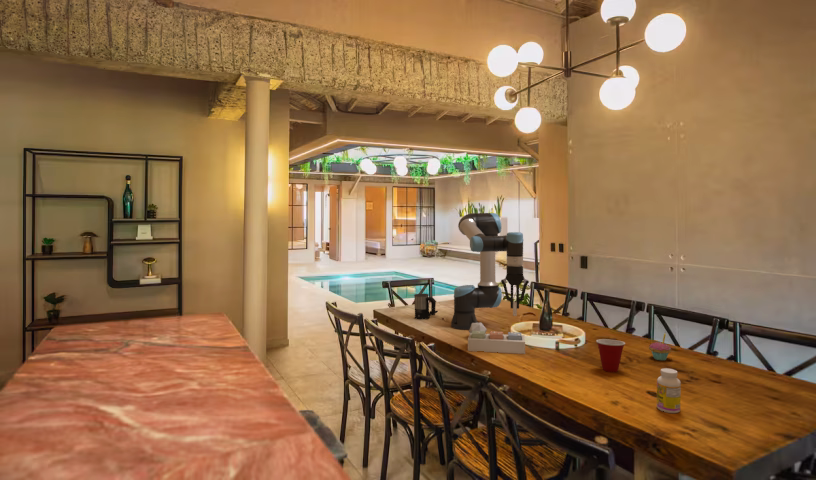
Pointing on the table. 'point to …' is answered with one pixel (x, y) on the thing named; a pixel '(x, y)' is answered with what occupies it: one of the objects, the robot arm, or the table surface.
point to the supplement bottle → (668, 391)
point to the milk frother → (424, 306)
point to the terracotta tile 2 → (496, 335)
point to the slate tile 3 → (514, 336)
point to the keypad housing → (496, 344)
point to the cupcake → (660, 350)
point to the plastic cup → (610, 354)
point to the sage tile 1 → (478, 334)
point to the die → (477, 327)
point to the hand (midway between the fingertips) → (514, 315)
